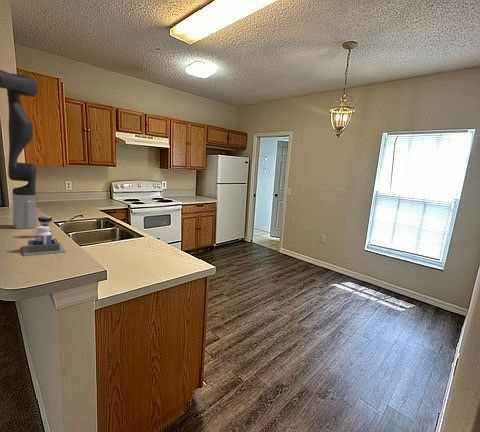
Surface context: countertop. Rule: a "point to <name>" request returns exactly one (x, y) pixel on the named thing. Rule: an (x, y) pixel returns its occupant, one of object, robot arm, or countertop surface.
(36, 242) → the pill bottle
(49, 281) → the countertop surface
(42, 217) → the push button
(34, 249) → the socket
